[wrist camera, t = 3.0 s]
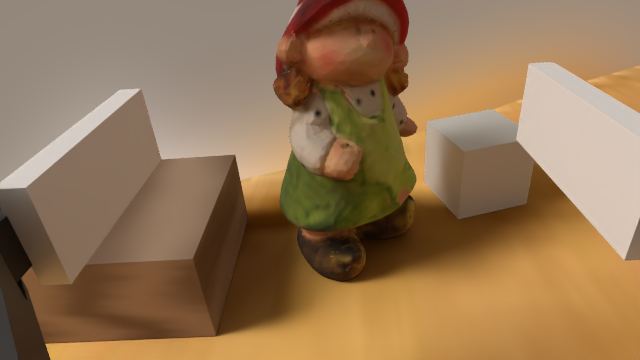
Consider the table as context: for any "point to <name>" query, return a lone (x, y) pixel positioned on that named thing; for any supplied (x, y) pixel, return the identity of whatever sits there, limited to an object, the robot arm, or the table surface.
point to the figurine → (345, 129)
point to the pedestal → (155, 261)
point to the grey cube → (477, 163)
